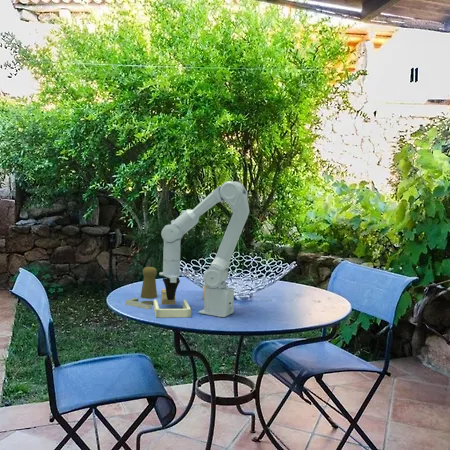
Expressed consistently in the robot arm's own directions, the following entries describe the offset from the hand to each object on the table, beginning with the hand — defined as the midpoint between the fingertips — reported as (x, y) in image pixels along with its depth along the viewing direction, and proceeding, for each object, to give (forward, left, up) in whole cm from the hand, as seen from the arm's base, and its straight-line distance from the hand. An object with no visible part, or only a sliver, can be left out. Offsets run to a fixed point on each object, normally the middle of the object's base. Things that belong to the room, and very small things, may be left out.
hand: (170, 299), depth 170 cm
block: (+4, -5, -3) cm, 7 cm away
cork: (+15, -9, -3) cm, 17 cm away
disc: (+9, -1, -3) cm, 10 cm away
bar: (+10, +3, -3) cm, 10 cm away
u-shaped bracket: (-3, +4, -3) cm, 6 cm away
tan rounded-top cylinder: (-5, -19, -3) cm, 20 cm away
